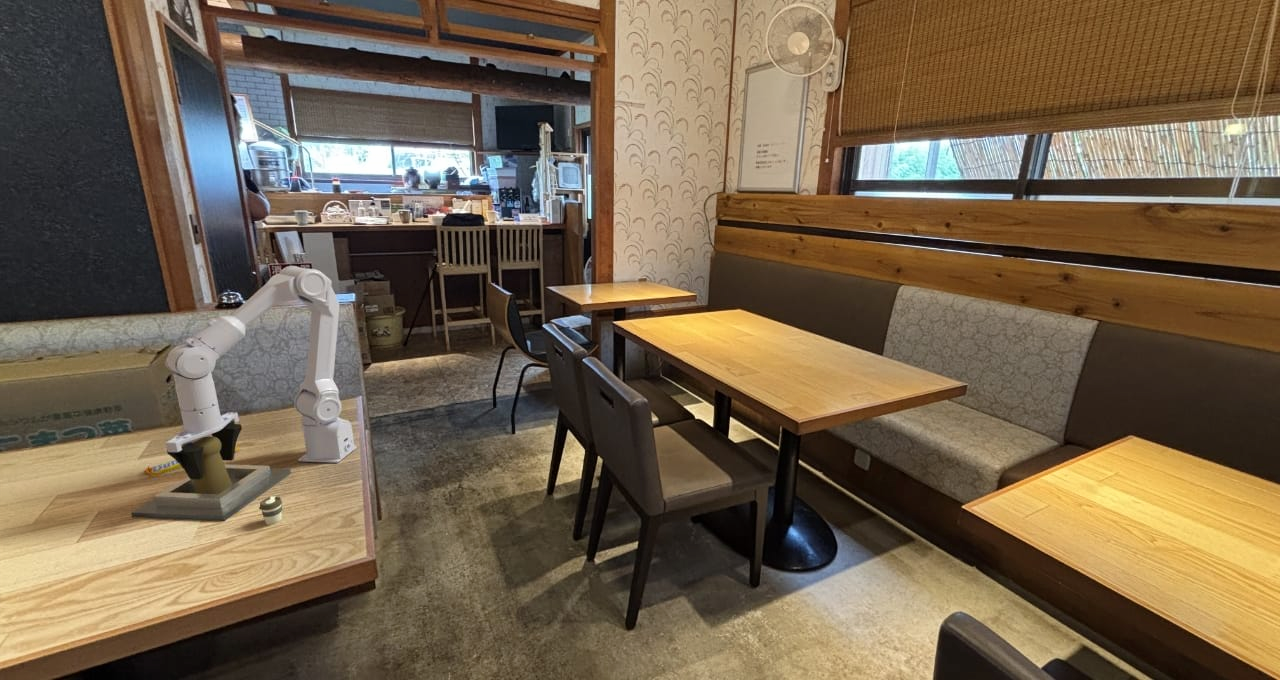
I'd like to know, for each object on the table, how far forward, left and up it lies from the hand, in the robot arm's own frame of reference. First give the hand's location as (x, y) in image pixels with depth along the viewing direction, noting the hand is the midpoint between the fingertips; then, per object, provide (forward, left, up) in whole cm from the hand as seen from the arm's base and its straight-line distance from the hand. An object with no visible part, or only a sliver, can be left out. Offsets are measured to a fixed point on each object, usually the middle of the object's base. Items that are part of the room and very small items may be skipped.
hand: (212, 468), depth 106 cm
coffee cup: (-18, +8, -6) cm, 21 cm away
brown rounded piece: (+1, 0, -5) cm, 5 cm away
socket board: (0, 0, -6) cm, 6 cm away
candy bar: (+16, -13, -6) cm, 22 cm away
